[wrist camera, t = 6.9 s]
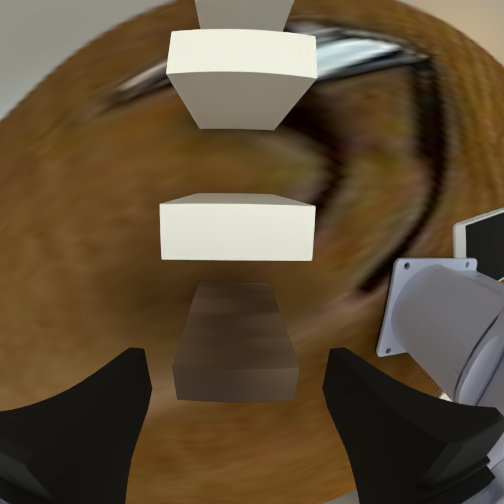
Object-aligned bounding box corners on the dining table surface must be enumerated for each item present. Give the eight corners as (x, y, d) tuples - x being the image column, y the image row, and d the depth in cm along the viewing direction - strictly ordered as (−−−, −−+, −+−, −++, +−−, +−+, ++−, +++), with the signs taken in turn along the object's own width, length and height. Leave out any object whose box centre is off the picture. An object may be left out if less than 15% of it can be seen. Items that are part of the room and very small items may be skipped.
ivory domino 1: (275, 33, 14) (305, -56, 5) (274, 52, 14) (308, -36, 6) (206, 31, 14) (192, -61, 5) (204, 50, 14) (186, -41, 5)
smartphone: (530, 262, 20) (452, 308, 20) (526, 261, 20) (448, 305, 20) (531, 198, 18) (453, 224, 18) (527, 197, 18) (448, 223, 18)
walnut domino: (268, 282, 18) (299, 367, 9) (267, 305, 18) (294, 400, 10) (198, 281, 18) (172, 366, 9) (199, 304, 18) (177, 399, 9)
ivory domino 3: (272, 194, 17) (315, 206, 8) (271, 220, 17) (312, 260, 8) (197, 193, 16) (159, 204, 8) (197, 219, 17) (161, 259, 8)
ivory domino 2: (274, 105, 15) (315, 36, 7) (274, 130, 16) (317, 78, 7) (200, 104, 15) (171, 31, 6) (199, 129, 15) (166, 74, 7)
